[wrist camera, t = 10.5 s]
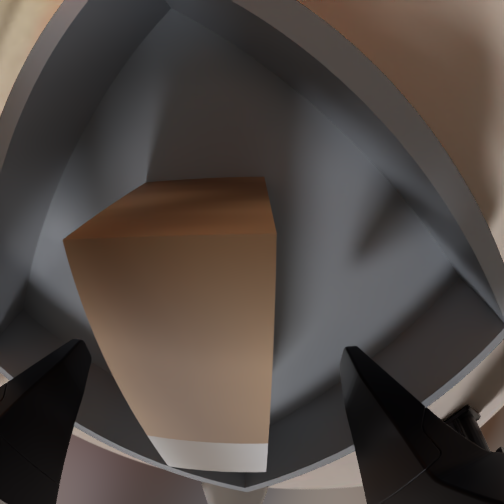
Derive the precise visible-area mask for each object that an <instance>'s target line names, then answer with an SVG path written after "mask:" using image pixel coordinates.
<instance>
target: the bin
mask: <svg viewBox="0 0 504 504" xmlns="http://www.w3.org/2000/svg"><path fill="white" fill-rule="evenodd" d="M224 177H264V178H265V182H266V187H267V191H268V196H269V200H270V205H271V210H272V214H273V219H274V224H275V228H276V233H277V237H276V283H275V316H274V343H273V366H272V387H271V405H270V423H269V439H268V454H267V468H266V472H221V471H206V470H195V469H185V468H177V467H170V466H168V465H167V464H166V462H165V461H164V459H163V458H162V457H161V455H160V454H159V452H158V451H157V449H156V448H155V447H154V445H153V444H152V442H151V441H150V439H149V438H148V436H147V434H146V433H145V431H144V430H143V428H142V427H141V425H140V423H139V422H138V420H137V418H136V417H135V415H134V413H133V412H132V410H131V408H130V406H129V405H128V403H127V401H126V399H125V398H124V396H123V394H122V392H121V390H120V388H119V386H118V384H117V383H116V381H115V379H114V377H113V375H112V373H111V371H110V369H109V367H108V364H107V362H106V360H105V358H104V356H103V354H102V352H101V349H100V347H99V345H98V343H97V340H96V338H95V336H94V333H93V331H92V328H91V326H90V323H89V321H88V318H87V316H86V313H85V310H84V308H83V305H82V302H81V300H80V297H79V294H78V291H77V288H76V285H75V282H74V279H73V276H72V272H71V269H70V266H69V262H68V259H67V255H66V252H65V248H64V244H63V239H64V238H66V237H67V236H68V235H69V234H71V233H72V232H73V231H75V230H76V229H77V228H79V227H80V226H82V225H83V224H84V223H86V222H87V221H88V220H90V219H91V218H93V217H94V216H96V215H97V214H98V213H100V212H101V211H103V210H104V209H106V208H107V207H109V206H110V205H112V204H113V203H114V202H116V201H117V200H119V199H121V198H122V197H124V196H125V195H127V194H128V193H130V192H131V191H133V190H135V189H136V188H138V187H139V186H141V185H143V184H144V183H146V182H156V181H169V180H184V179H201V178H224ZM73 338H77V339H82V340H84V341H85V343H86V345H87V348H88V350H89V352H90V354H91V357H92V361H91V365H90V369H89V374H88V378H87V382H86V386H85V391H84V395H83V398H82V401H81V404H80V408H79V411H78V414H77V417H76V421H75V424H74V427H76V428H78V429H79V430H81V431H83V432H85V433H86V434H88V435H90V436H92V437H94V438H95V439H97V440H99V441H101V442H103V443H105V444H107V445H109V446H111V447H113V448H115V449H117V450H119V451H121V452H123V453H126V454H128V455H130V456H132V457H135V458H137V459H139V460H142V461H144V462H147V463H149V464H152V465H154V466H157V467H159V468H162V469H165V470H167V471H170V472H173V473H176V474H179V475H182V476H185V477H189V478H192V479H195V480H198V481H202V482H205V483H209V484H213V485H217V486H221V487H225V488H229V489H234V490H239V491H244V492H250V491H254V490H257V489H261V488H264V487H267V486H271V485H274V484H277V483H280V482H283V481H286V480H288V479H291V478H294V477H297V476H299V475H302V474H305V473H307V472H310V471H312V470H315V469H317V468H319V467H322V466H324V465H326V464H329V463H331V462H333V461H335V460H337V459H340V458H342V457H344V456H346V455H348V454H350V453H352V452H354V451H355V447H354V443H353V439H352V435H351V431H350V427H349V423H348V419H347V415H346V411H345V405H344V398H343V391H342V384H341V377H340V370H339V365H340V361H341V357H342V353H343V350H344V348H345V347H346V346H358V347H359V348H360V349H361V350H362V351H363V352H365V353H366V354H367V355H368V356H369V357H370V358H371V359H372V360H374V361H375V362H376V363H377V364H378V365H379V366H380V367H382V368H383V369H384V370H385V371H386V372H387V373H388V374H389V375H391V376H392V377H393V378H394V379H395V380H396V381H397V382H398V383H400V384H401V385H402V386H403V387H404V388H405V389H406V390H408V391H409V392H410V393H411V394H412V395H413V396H414V397H415V398H417V399H418V400H419V401H420V402H421V403H422V404H423V405H424V406H425V408H426V407H428V406H429V405H430V404H432V403H433V402H434V401H436V400H437V399H438V398H440V397H441V396H442V395H444V394H445V393H446V392H447V391H449V390H450V389H451V388H452V387H453V386H455V385H456V384H457V383H458V382H459V381H461V380H462V379H463V378H464V377H465V376H466V375H468V374H469V373H470V372H471V371H472V370H473V369H474V368H475V367H476V366H477V365H479V364H480V363H481V362H482V361H483V360H484V359H485V358H486V357H487V356H488V355H489V354H490V353H491V352H492V351H493V350H494V349H495V348H496V347H497V346H498V345H499V344H500V343H501V342H502V340H503V339H504V263H503V260H502V258H501V255H500V253H499V250H498V248H497V245H496V243H495V241H494V238H493V236H492V234H491V231H490V229H489V227H488V225H487V223H486V221H485V219H484V217H483V214H482V212H481V210H480V209H479V207H478V205H477V203H476V201H475V199H474V197H473V195H472V193H471V192H470V190H469V188H468V186H467V184H466V183H465V181H464V179H463V178H462V176H461V174H460V173H459V171H458V169H457V168H456V166H455V165H454V163H453V161H452V160H451V158H450V157H449V155H448V154H447V152H446V151H445V149H444V148H443V146H442V145H441V143H440V142H439V141H438V139H437V138H436V136H435V135H434V134H433V132H432V131H431V129H430V128H429V127H428V125H427V124H426V123H425V122H424V120H423V119H422V118H421V116H420V115H419V114H418V113H417V111H416V110H415V109H414V108H413V106H412V105H411V104H410V103H409V102H408V100H407V99H406V98H405V97H404V96H403V95H402V94H401V92H400V91H399V90H398V89H397V88H396V87H395V86H394V85H393V83H392V82H391V81H390V80H389V79H388V78H387V77H386V76H385V75H384V74H383V73H382V72H381V71H380V70H379V69H378V68H377V67H376V66H375V65H374V64H373V63H372V62H371V61H370V60H369V59H368V58H367V57H366V56H365V55H364V54H363V53H362V52H361V51H360V50H358V49H357V48H356V47H355V46H354V45H353V44H352V43H351V42H350V41H348V40H347V39H346V38H345V37H344V36H343V35H341V34H340V33H339V32H338V31H337V30H335V29H334V28H333V27H332V26H330V25H329V24H328V23H327V22H325V21H324V20H323V19H321V18H320V17H319V16H317V15H316V14H315V13H313V12H312V11H311V10H309V9H308V8H306V7H305V6H304V5H302V4H301V3H299V2H298V1H296V0H64V1H63V3H62V4H61V5H60V7H59V8H58V9H57V11H56V12H55V14H54V15H53V16H52V18H51V19H50V21H49V22H48V24H47V25H46V27H45V28H44V30H43V32H42V33H41V35H40V36H39V38H38V40H37V41H36V43H35V45H34V46H33V48H32V50H31V52H30V54H29V55H28V57H27V59H26V61H25V63H24V65H23V67H22V69H21V71H20V73H19V75H18V77H17V79H16V81H15V83H14V85H13V87H12V90H11V92H10V94H9V97H8V99H7V101H6V104H5V106H4V109H3V111H2V114H1V117H0V373H2V374H3V375H4V376H5V377H6V378H7V379H8V380H11V379H13V378H14V377H16V376H17V375H19V374H20V373H22V372H23V371H25V370H26V369H28V368H29V367H31V366H32V365H33V364H35V363H36V362H38V361H39V360H41V359H42V358H44V357H45V356H47V355H49V354H50V353H52V352H53V351H55V350H56V349H58V348H59V347H61V346H62V345H64V344H65V343H67V342H68V341H70V340H71V339H73Z"/></svg>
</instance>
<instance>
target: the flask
mask: <svg viewBox="0 0 504 504" xmlns="http://www.w3.org/2000/svg"><path fill="white" fill-rule="evenodd" d="M202 487H203V490H204V493H205V496H206V499H207V502H208V504H262V503H263V500H264V498H265V496H266V493H267V490H268V487H264V488H261V489H257V490H254V491H250V492H244V491H239V490H234V489H229V488H225V487H221V486H217V485H213V484H209V483H205V482H204V483H202Z"/></svg>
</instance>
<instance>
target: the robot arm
mask: <svg viewBox="0 0 504 504" xmlns="http://www.w3.org/2000/svg"><path fill="white" fill-rule="evenodd" d="M91 361H92V357H91V354H90V352H89V350H88V348H87V345H86V343H85V341H84V340H82V339H77V338H73V339H71V340H70V341H68V342H67V343H65V344H64V345H62V346H61V347H59V348H58V349H56V350H55V351H53V352H52V353H50V354H49V355H47V356H45V357H44V358H42V359H41V360H39V361H38V362H36V363H35V364H33V365H32V366H31V367H29V368H28V369H26V370H25V371H23V372H22V373H20V374H19V375H17V376H16V377H14V378H13V379H11V380H10V381H8V382H7V383H5V384H4V385H2V386H1V387H0V504H56V500H57V495H58V489H59V483H60V479H61V474H62V470H63V465H64V461H65V457H66V453H67V449H68V445H69V442H70V438H71V434H72V431H73V427H74V424H75V421H76V417H77V414H78V411H79V408H80V404H81V401H82V398H83V395H84V391H85V386H86V382H87V378H88V374H89V369H90V365H91ZM339 370H340V377H341V384H342V391H343V398H344V405H345V411H346V415H347V419H348V423H349V427H350V431H351V435H352V439H353V443H354V447H355V451H356V456H357V460H358V464H359V469H360V473H361V478H362V482H363V487H364V491H365V496H366V501H367V504H504V448H503V447H500V448H498V449H497V450H496V452H491V451H490V450H489V447H488V445H487V443H486V441H485V438H484V436H483V434H482V432H481V430H480V428H479V426H478V424H477V422H476V421H477V420H479V419H480V417H481V416H480V414H479V413H478V412H476V411H475V410H474V409H473V408H472V407H470V406H469V405H468V406H466V407H464V408H463V409H462V410H461V411H459V412H458V413H457V414H455V415H454V416H453V417H451V418H450V419H449V420H447V421H446V422H443V421H442V420H441V419H440V418H438V417H437V416H436V415H435V414H434V413H433V412H431V411H430V410H429V409H428V408H427V407H426V408H425V406H424V405H423V404H422V403H421V402H420V401H419V400H418V399H417V398H415V397H414V396H413V395H412V394H411V393H410V392H409V391H408V390H406V389H405V388H404V387H403V386H402V385H401V384H400V383H398V382H397V381H396V380H395V379H394V378H393V377H392V376H391V375H389V374H388V373H387V372H386V371H385V370H384V369H383V368H382V367H380V366H379V365H378V364H377V363H376V362H375V361H374V360H372V359H371V358H370V357H369V356H368V355H367V354H366V353H365V352H363V351H362V350H361V349H360V348H359V347H358V346H346V347H345V348H344V350H343V353H342V357H341V361H340V365H339Z"/></svg>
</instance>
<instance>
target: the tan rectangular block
mask: <svg viewBox="0 0 504 504" xmlns="http://www.w3.org/2000/svg"><path fill="white" fill-rule="evenodd" d="M276 237H277V233H276V228H275V224H274V219H273V214H272V210H271V205H270V200H269V196H268V191H267V187H266V182H265V178H264V177H224V178H201V179H184V180H169V181H156V182H146V183H144V184H143V185H141V186H139V187H138V188H136V189H135V190H133V191H131V192H130V193H128V194H127V195H125V196H124V197H122V198H121V199H119V200H117V201H116V202H114V203H113V204H112V205H110V206H109V207H107V208H106V209H104V210H103V211H101V212H100V213H98V214H97V215H96V216H94V217H93V218H91V219H90V220H88V221H87V222H86V223H84V224H83V225H82V226H80V227H79V228H77V229H76V230H75V231H73V232H72V233H71V234H69V235H68V236H67V237H66V238H64V239H63V244H64V248H65V252H66V255H67V259H68V262H69V266H70V269H71V272H72V276H73V279H74V282H75V285H76V288H77V291H78V294H79V297H80V300H81V302H82V305H83V308H84V310H85V313H86V316H87V318H88V321H89V323H90V326H91V328H92V331H93V333H94V336H95V338H96V340H97V343H98V345H99V347H100V349H101V352H102V354H103V356H104V358H105V360H106V362H107V364H108V367H109V369H110V371H111V373H112V375H113V377H114V379H115V381H116V383H117V384H118V386H119V388H120V390H121V392H122V394H123V396H124V398H125V399H126V401H127V403H128V405H129V406H130V408H131V410H132V412H133V413H134V415H135V417H136V418H137V420H138V422H139V423H140V425H141V427H142V428H143V430H144V431H145V433H146V434H147V436H148V438H149V439H150V441H151V442H152V444H153V445H154V447H155V448H156V449H157V451H158V452H159V454H160V455H161V457H162V458H163V459H164V461H165V462H166V464H167V465H168V466H170V467H177V468H185V469H195V470H206V471H221V472H266V468H267V454H268V439H269V423H270V405H271V387H272V366H273V343H274V316H275V283H276Z"/></svg>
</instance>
